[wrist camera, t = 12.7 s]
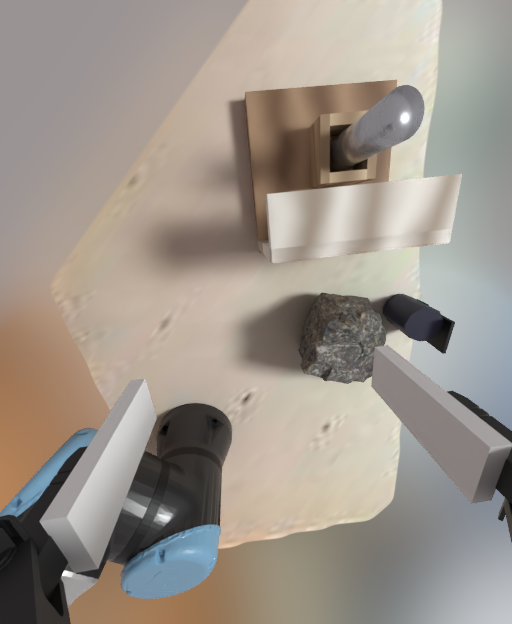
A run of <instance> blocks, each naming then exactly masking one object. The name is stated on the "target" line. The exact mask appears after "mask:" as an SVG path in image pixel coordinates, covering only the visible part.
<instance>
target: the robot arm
mask: <svg viewBox="0 0 512 624" xmlns="http://www.w3.org/2000/svg"><path fill="white" fill-rule="evenodd" d="M371 386H372V387H373V389H374V390H375V391H376V392H377V393H378V394H379V396H380V397H381V398H382V399H383V400H384V401H385V403H386V404H387V405H388V406H389V407H390V409H391V410H392V411H393V412H394V413H395V414H396V416H397V417H398V418H399V419H400V420H401V421H402V423H403V424H404V425H405V426H406V427H407V428H408V430H409V431H410V432H411V433H412V434H413V436H414V437H415V438H416V439H417V440H418V441H419V442H420V444H421V445H422V446H423V447H424V448H425V450H426V451H427V452H428V453H429V454H430V455H431V457H432V458H433V459H434V460H435V461H436V462H437V464H438V465H439V466H440V467H441V468H442V469H443V471H444V472H445V473H446V474H447V475H448V477H449V478H450V479H451V480H452V481H453V482H454V484H455V485H456V486H457V487H458V488H459V489H460V491H461V492H462V493H463V494H464V495H465V496H466V498H467V499H468V500H469V501H470V502H471V503H477V502H483V501H488V500H492V497H493V495H494V492H495V489H497V490H498V491H499V492H500V493H501V494H502V495H503V496H505V500H504V502H503V505H502V507H501V510H500V512H499V516H498V519H499V520H501V521H503V519H504V517H505V515H506V518H507V523H508V527H509V532H510V537H511V541H512V431H511V430H509V429H508V428H507V427H505V426H504V425H503V424H501V423H500V422H499V421H497V420H496V419H495V418H493V417H492V416H489V414H488V413H487V412H485V411H484V410H483V409H480V408H479V406H477V405H476V404H475V403H473V402H472V401H471V400H469V399H468V398H466V397H464V396H462V395H460V394H458V393H456V392H454V391H449V392H446V391H445V390H444V389H442V388H441V387H440V386H439V385H437V384H436V383H435V382H433V381H432V380H431V379H430V378H428V377H427V376H426V375H425V374H423V373H422V372H421V371H419V370H418V369H417V368H415V367H414V366H413V365H412V364H411V363H409V362H408V361H407V360H406V359H404V358H403V357H402V356H400V355H399V354H398V353H397V352H395V351H394V350H393V349H392V348H390V347H389V346H388V345H386V346H379V347H375V351H374V362H373V374H372V385H371ZM156 419H157V415H156V412H155V409H154V406H153V403H152V400H151V397H150V393H149V390H148V387H147V384H146V381H145V379H140V380H133V381H130V383H129V384H128V386H127V387H126V389H125V390H124V392H123V393H122V395H121V396H120V398H119V400H118V401H117V403H116V404H115V406H114V407H113V409H112V410H111V412H110V413H109V415H108V417H107V418H106V420H105V421H104V423H103V424H102V426H101V427H100V429H99V430H96V429H93V428H85V429H82V430H79V431H78V432H76V433H75V434H74V435H73V436H71V438H69V440H68V441H66V443H64V444H63V445H62V447H61V448H60V449H59V450H58V451H57V452H56V453H55V454H54V455H53V456H52V457H51V458H50V459H49V460H48V461H47V462H46V463H45V464H44V465H43V466H42V468H41V469H40V470H39V471H38V472H37V473H36V474H35V475H34V476H33V477H32V478H31V479H30V480H29V482H28V483H27V484H26V485H25V486H24V487H23V488H22V489H21V490H20V491H19V493H18V494H17V495H16V496H15V497H14V498H13V499H12V500H11V501H10V502H9V504H8V505H7V506H5V508H4V509H3V510H2V511H1V512H0V624H71V623H70V617H69V612H68V609H69V607H70V605H71V603H72V602H73V601H74V600H75V599H76V598H77V597H78V596H80V595H81V594H82V593H84V592H85V591H86V590H88V589H89V588H90V587H92V586H93V585H95V584H96V582H97V581H98V579H99V577H100V574H101V572H102V570H103V568H104V566H105V564H106V562H107V560H108V561H111V562H115V563H118V564H121V565H123V566H124V568H123V570H122V572H121V588H122V589H123V591H126V593H127V594H128V595H130V596H132V597H137V598H143V599H154V598H163V597H168V596H172V595H175V594H179V593H182V592H185V591H187V590H189V589H191V588H193V587H195V586H196V585H198V584H200V583H201V582H202V581H203V580H205V579H206V577H208V575H209V574H210V573H211V571H212V570H213V568H214V566H215V563H216V560H217V552H218V544H219V536H220V532H221V529H220V507H221V481H222V466H223V464H224V461H225V458H226V456H227V453H228V451H229V448H230V445H231V440H232V427H231V423H230V421H229V419H228V418H227V416H226V415H225V414H224V413H223V412H221V411H220V410H218V409H217V408H215V407H212V406H209V405H205V404H187V405H183V406H180V407H177V408H175V409H174V410H172V411H171V412H169V413H168V414H167V415H166V416H165V417H164V419H163V420H162V422H161V425H160V428H159V431H158V434H157V456H154V455H152V454H150V453H148V452H146V451H144V450H145V447H146V445H147V442H148V440H149V437H150V435H151V432H152V430H153V427H154V424H155V422H156Z"/></svg>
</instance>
